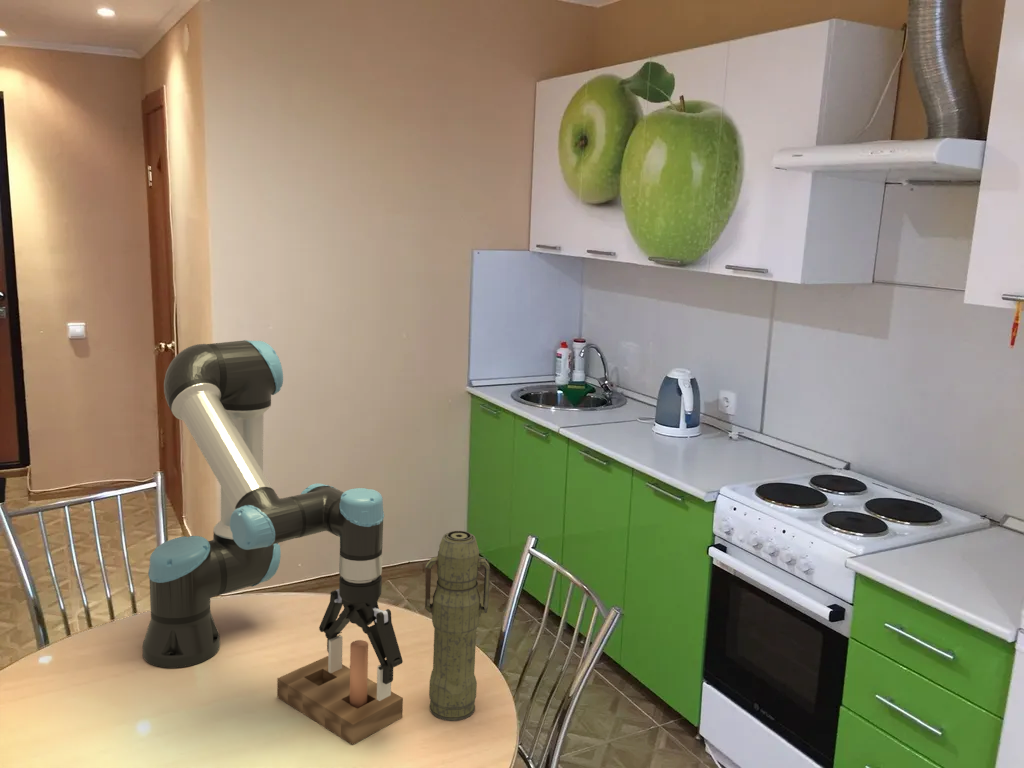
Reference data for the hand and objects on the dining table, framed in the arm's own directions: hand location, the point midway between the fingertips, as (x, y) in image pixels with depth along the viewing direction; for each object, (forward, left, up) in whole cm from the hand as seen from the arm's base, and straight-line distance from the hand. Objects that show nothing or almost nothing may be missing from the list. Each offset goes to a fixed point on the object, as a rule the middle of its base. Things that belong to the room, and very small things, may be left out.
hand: (358, 683), depth 162 cm
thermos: (+10, +15, -7) cm, 19 cm away
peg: (0, 0, -7) cm, 7 cm away
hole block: (-6, 0, -7) cm, 9 cm away
